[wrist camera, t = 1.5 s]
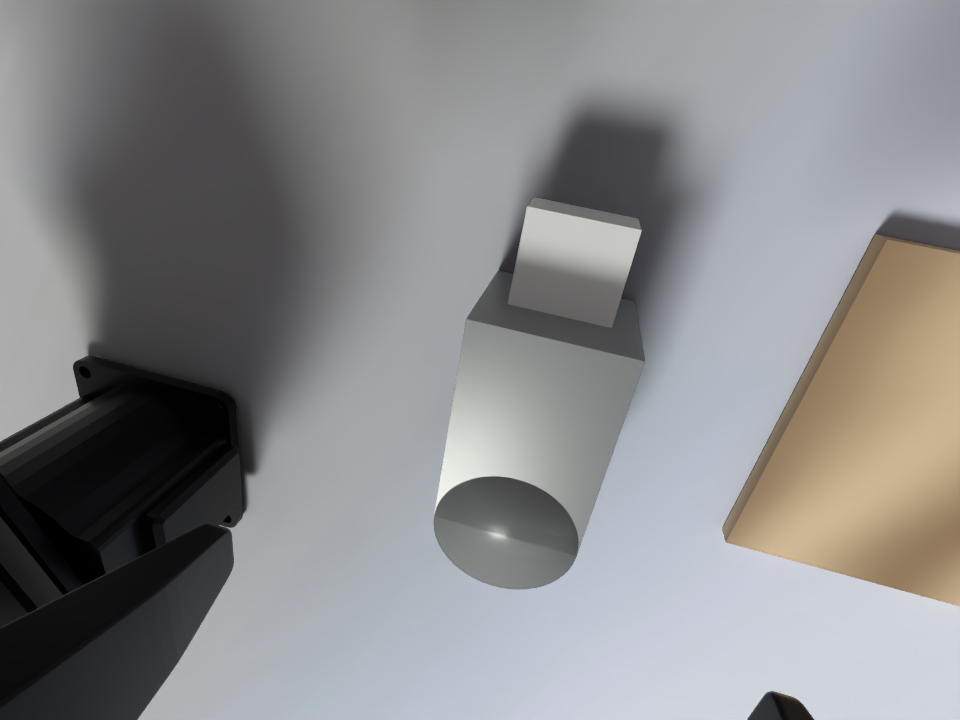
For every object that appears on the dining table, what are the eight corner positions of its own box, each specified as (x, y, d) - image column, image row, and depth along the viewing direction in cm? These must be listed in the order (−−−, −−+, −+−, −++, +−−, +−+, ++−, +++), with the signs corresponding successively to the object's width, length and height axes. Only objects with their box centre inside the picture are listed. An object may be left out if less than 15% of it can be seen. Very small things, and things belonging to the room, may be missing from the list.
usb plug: (567, 510, 18) (559, 605, 15) (459, 480, 19) (426, 565, 15) (661, 216, 14) (683, 253, 10) (513, 185, 14) (483, 211, 10)
